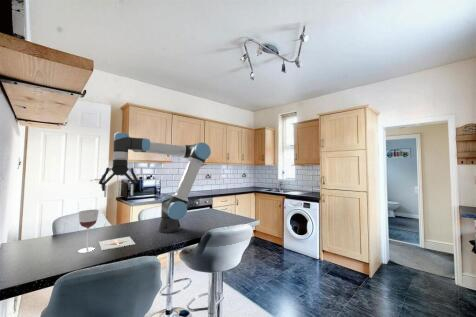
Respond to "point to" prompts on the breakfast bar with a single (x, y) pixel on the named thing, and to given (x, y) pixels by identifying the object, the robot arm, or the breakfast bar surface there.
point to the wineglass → (87, 224)
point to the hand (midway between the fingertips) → (118, 196)
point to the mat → (116, 243)
